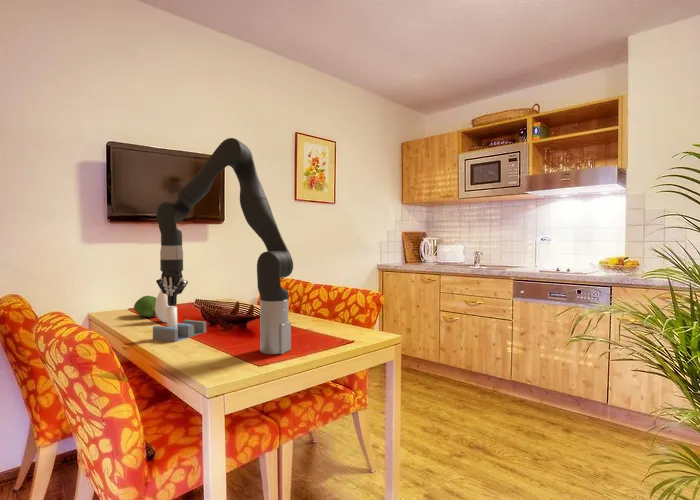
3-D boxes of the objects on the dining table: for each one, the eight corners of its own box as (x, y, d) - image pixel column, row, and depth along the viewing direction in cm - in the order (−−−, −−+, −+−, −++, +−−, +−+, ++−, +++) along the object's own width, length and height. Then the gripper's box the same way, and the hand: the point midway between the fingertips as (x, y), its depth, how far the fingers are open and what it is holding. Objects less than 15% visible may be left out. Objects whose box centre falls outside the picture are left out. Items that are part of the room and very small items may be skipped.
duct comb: (206, 334, 154) (206, 320, 154) (174, 344, 139) (174, 328, 139) (185, 332, 158) (185, 318, 158) (152, 342, 143) (152, 326, 143)
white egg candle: (178, 321, 177) (177, 281, 176) (160, 324, 171) (159, 282, 170) (169, 319, 182) (169, 280, 181) (152, 322, 176) (151, 281, 175)
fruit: (128, 316, 188) (128, 295, 188) (149, 313, 196) (149, 292, 196) (144, 320, 179) (144, 298, 179) (165, 316, 187) (165, 295, 187)
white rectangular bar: (179, 336, 146) (179, 307, 145) (172, 339, 142) (172, 308, 142) (172, 336, 147) (171, 306, 146) (164, 338, 144) (164, 308, 143)
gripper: (193, 258, 145) (194, 305, 146) (165, 257, 150) (166, 303, 150) (178, 259, 138) (178, 308, 139) (149, 258, 143) (149, 306, 143)
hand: (172, 305), depth 144 cm, fingers closed
